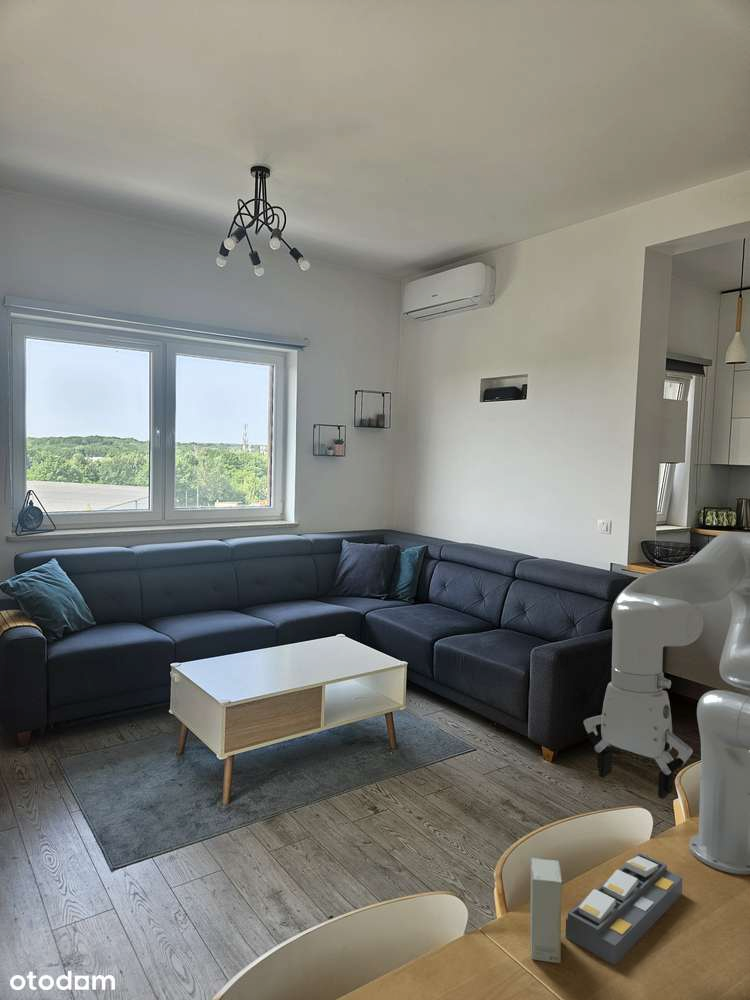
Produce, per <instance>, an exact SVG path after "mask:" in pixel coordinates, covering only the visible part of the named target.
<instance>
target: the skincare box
mask: <svg viewBox="0 0 750 1000" xmlns="http://www.w3.org/2000/svg"><path fill="white" fill-rule="evenodd" d="M562 883H563V881H562V873H561V867H560V862H559V860H556V859H549V858H547V859H546V858H540V857H530V910H529V911H530V915H529V917H530V919H529V920H530V922H529V923H530V924H529V925H530V927H529V929H530V932H529V934H530V936H529V937H530V940H529V941H530V957H531V959H532V960H534V961H535V960H536V961H541V962H548V963H555V964H561V961H562V960H561V959H562V956H561V955H562V952H561V950H562V947H561V946H562V929H561V928H562V886H563V885H562Z"/></svg>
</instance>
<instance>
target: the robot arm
mask: <svg viewBox="0 0 750 1000" xmlns="http://www.w3.org/2000/svg"><path fill="white" fill-rule="evenodd" d="M727 596H729V600H730V601H729V602H730V605H731V619H730V624H729V628H728V630H727V631H728V632H727V633H726V638H725V641H724V642H725V643H724V645H723V649H722V653H721V656H720V661H719V666H718V667H719V675H720V677H721V679H722V680H723V681H724V682H726V683H727V684H728V685H731V686H733V687H736V688H740V689H742V690H747V691H749V692H750V532H745V531H744V532H743V531H727V532H724V533H720V534H718V535H717V536H716V537H714V538H712V540H711V541H710V542H709V543H707V544H706V545H705V546H704V547H703V548H702V549H701V550H700V551H698V552H697V553H696V554H695V555H694V556H693V557H691V558H690V559H689V560H688V561H687V562H684V563H680V564H678V563H677V564H676V565H672V566H668V567H666V568H663V569H658V570H655V571H652V572H648V573H646V574H644V575H642V576H640V577H638V578H637V579H635V580H633V581H632V582H631V583H630V584H629V585H627V586H626V587H625V588H624V589H623V590H622V591H621V592H620V593H619V594H618V595H617V597H616V598H615V600H614V603H613V604H612V608H611V621H612V645H611V651H612V652H611V681H610V682H608V684H607V687H606V689H605V695H604V699H603V705H602V709H601V711H602V713H601V714H600V715H595V716H592V717H589V718H586V719H584V720H583V725H584V728H585V730H586V732H587V736H588V739H589V740H590V742H591V743H592V744H593V746H594V750H595V752H597V765H596V766H597V769H598V776H599V778H602V779H604V778H606V777H607V776H608V775H610V774H611V773H612V768H613V762H612V761H613V750H612V748H610V747H611V746H613V747H615V748H618V749H620V750H624V751H627V752H631V753H634V754H637V755H640V756H644V757H647V758H651V759H654V760H655V762H656V763H657V765H658V766H659V768H660V770H661V771H659V773H658V785H657V797H658V798H659V799H662V800H664V799H665V798H666V797H667V796H669V795H670V794H672V793H673V791H674V775H675V774H674V773H675V771H676V770H678V769H680V768H681V767H683V766H684V765H685V764H686V763H687V761H688V760H689V758H690V757H691V756H692V754H693V752H694V749H693V748H692V747H690V746H689V744H687V743H686V742H684V741H683V740H681V738H679V737H678V736H676V734H674V733H673V724H672V721H673V719H672V713H671V705H670V698H669V694H668V691H667V690H663V689H670V688H671V685H672V681H671V679H668V678H666V677H665V676H664V674H665V673H664V672H663V663H664V662H663V659H664V658H663V655H664V653H663V652H664V647H684V646H688V645H690V644H692V643H694V642H695V641H697V640H698V638H699V637H700V636H701V634H702V632H703V629H704V616H703V614H702V612H701V610H700V609H699V608H698V607H697V606H702V605H709V604H715V603H718V602H720V601H722V600H724V599H725V598H726V597H727ZM696 717H697V719H696V720H697V725H698V726H697V727H698V732H699V738H700V759H701V760H700V781H699V783H700V784H699V808H698V810H699V814H698V817H699V818H698V833H697V834H694V835H692V836H691V837H690V839H689V842H688V843H689V847H688V848H689V850H690V852H691V853H692V854H693V856H694V857H695V858H697V860H699V861H701V862H702V863H703V864H705V865H707V866H709V867H711V868H714V869H715V870H718V871H721V872H726V873H728V874H729V873H730V874H735V875H750V695H745V694H742V693H736V692H733V691H729V690H722V689H714V690H709V691H707V692H705V693H704V694H702V696H701V697H700V698H699V700H698V702H697V707H696ZM598 725H600V732H599V731H598V730H597V727H596V726H598ZM600 733H601V734H600ZM672 748H674V749H675V750H676V751H677V753H678V755H677V756H676V757H675V759H674V758H673V757H672V755H671V754H670V751H671V750H672Z"/></svg>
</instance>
